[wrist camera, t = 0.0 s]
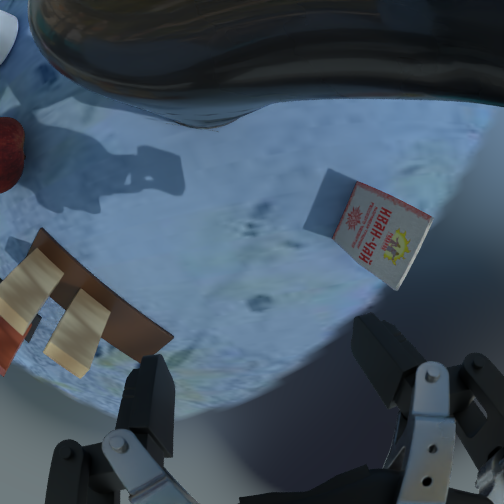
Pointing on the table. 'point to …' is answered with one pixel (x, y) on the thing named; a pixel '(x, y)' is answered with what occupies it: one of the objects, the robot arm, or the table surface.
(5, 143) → the apple
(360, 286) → the table surface
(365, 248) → the white tea box
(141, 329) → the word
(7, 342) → the orange rectangular block
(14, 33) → the beverage can
